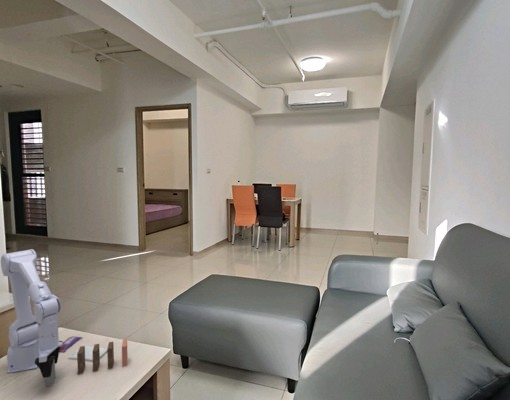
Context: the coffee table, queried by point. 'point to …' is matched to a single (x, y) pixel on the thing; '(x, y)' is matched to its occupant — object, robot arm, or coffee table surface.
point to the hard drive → (88, 353)
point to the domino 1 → (50, 379)
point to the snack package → (69, 343)
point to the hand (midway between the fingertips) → (50, 369)
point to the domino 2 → (81, 360)
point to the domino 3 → (96, 357)
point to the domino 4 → (110, 355)
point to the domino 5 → (124, 353)
